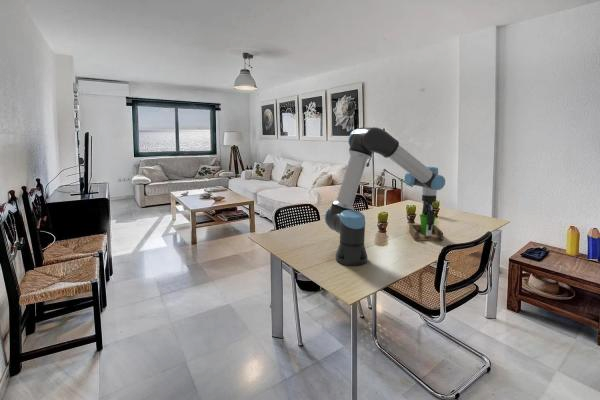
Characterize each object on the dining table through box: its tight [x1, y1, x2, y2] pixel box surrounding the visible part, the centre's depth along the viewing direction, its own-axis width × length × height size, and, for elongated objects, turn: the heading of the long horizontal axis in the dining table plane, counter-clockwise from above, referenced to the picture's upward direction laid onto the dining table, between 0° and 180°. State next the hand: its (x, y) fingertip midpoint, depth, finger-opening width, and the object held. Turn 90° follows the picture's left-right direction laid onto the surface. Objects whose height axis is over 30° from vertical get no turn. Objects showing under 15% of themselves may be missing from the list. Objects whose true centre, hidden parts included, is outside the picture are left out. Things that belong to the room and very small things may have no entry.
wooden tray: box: [408, 223, 444, 242], centre depth 190 cm, size 15×16×5 cm
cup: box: [419, 213, 437, 235], centre depth 187 cm, size 9×9×11 cm
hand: (426, 232), depth 188 cm, fingers closed on cup, 9 cm apart
